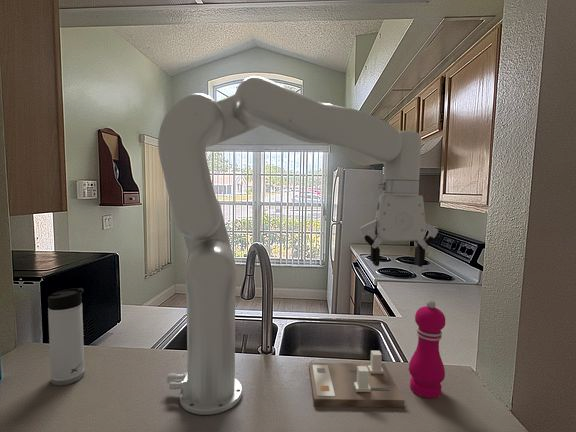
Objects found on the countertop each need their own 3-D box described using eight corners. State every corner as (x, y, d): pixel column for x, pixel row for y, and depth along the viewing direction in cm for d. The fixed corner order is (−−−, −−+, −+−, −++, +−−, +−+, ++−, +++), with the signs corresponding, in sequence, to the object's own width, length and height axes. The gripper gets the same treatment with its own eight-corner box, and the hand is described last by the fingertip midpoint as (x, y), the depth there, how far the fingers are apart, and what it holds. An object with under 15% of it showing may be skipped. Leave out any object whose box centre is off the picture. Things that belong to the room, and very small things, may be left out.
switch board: (314, 406, 68) (314, 398, 68) (309, 368, 82) (309, 362, 82) (404, 407, 68) (404, 399, 68) (383, 369, 82) (384, 363, 82)
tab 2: (370, 373, 77) (371, 355, 77) (367, 367, 80) (368, 350, 79) (383, 373, 77) (384, 355, 77) (380, 367, 80) (381, 350, 79)
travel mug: (83, 382, 75) (80, 293, 73) (47, 388, 72) (43, 296, 70) (88, 368, 80) (85, 285, 79) (55, 373, 78) (51, 287, 76)
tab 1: (356, 391, 70) (357, 371, 70) (353, 384, 73) (354, 365, 72) (370, 391, 70) (371, 371, 70) (367, 385, 73) (368, 365, 72)
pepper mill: (422, 402, 70) (429, 307, 68) (400, 383, 76) (406, 296, 75) (451, 397, 72) (458, 304, 70) (427, 378, 79) (433, 293, 77)
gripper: (365, 188, 72) (362, 268, 73) (447, 189, 72) (442, 269, 73) (357, 188, 79) (355, 260, 81) (432, 189, 79) (428, 262, 81)
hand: (397, 265), depth 77 cm, fingers open, 9 cm apart
